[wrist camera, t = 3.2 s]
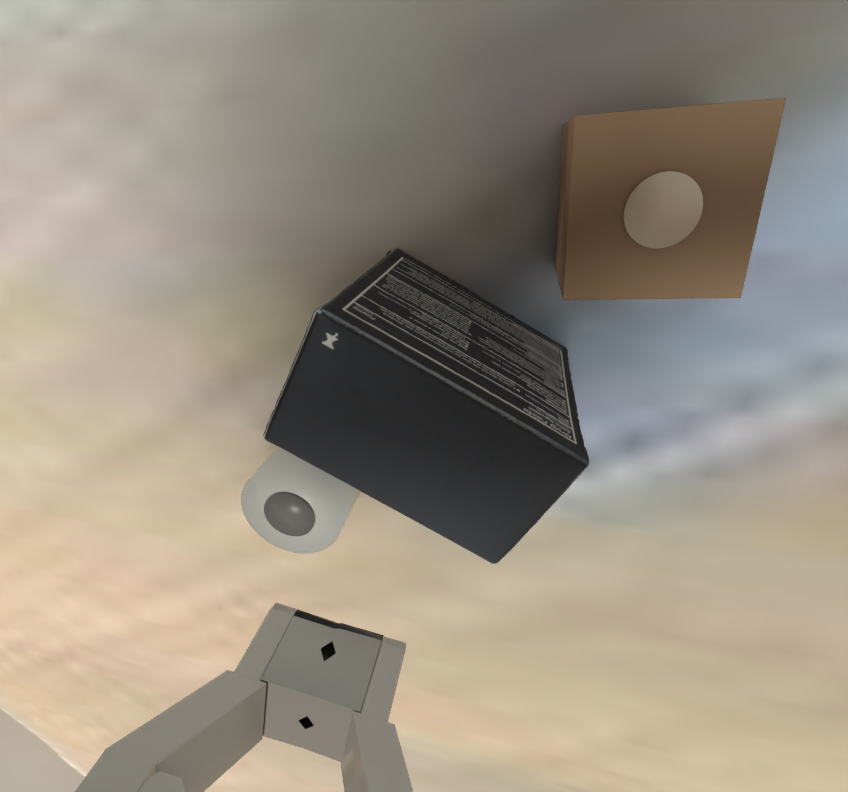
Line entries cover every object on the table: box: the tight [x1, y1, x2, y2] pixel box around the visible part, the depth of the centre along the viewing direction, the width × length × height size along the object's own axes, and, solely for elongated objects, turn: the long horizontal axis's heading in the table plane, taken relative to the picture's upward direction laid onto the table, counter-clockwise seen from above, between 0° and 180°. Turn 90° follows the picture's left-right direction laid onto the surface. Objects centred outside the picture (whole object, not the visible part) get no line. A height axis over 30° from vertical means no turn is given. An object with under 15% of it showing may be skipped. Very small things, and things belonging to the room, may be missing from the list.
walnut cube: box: [555, 98, 786, 300], centre depth 19 cm, size 6×6×6 cm
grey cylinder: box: [241, 446, 360, 554], centre depth 28 cm, size 6×6×6 cm
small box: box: [264, 249, 589, 564], centre depth 21 cm, size 11×6×10 cm, turn 62°
